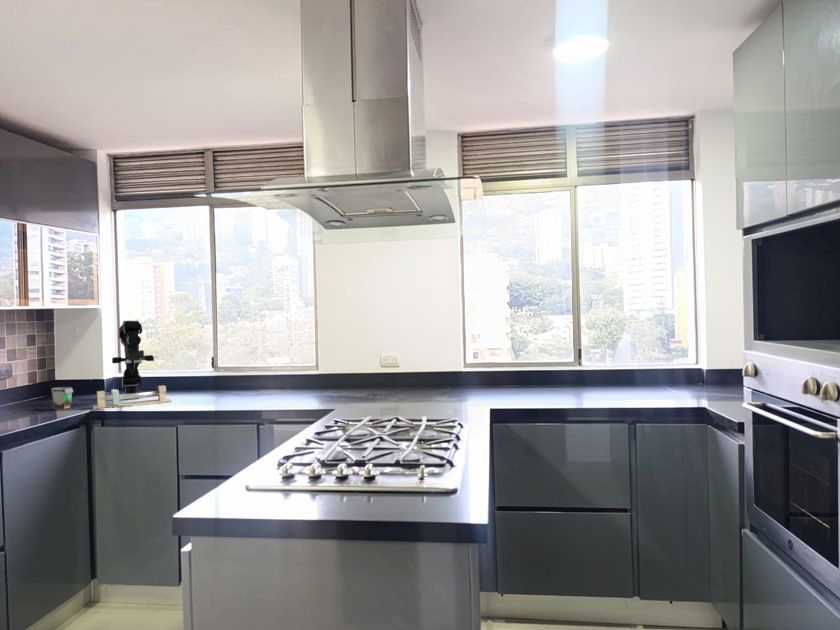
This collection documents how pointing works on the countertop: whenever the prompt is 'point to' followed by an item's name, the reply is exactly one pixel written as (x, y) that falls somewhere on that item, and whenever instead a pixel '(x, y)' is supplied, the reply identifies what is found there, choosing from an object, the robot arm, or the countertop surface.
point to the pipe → (133, 395)
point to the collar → (115, 396)
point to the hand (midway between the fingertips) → (133, 376)
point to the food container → (62, 398)
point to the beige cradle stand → (160, 399)
